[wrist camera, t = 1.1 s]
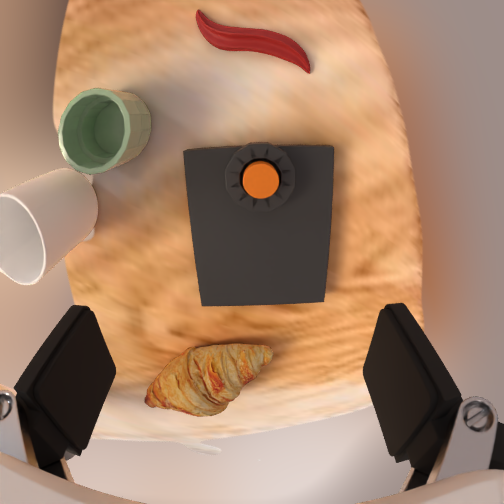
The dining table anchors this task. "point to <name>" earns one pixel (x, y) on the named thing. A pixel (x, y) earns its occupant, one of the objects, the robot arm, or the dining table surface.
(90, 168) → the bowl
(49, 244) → the cup
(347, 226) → the dining table surface
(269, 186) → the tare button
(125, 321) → the dining table surface
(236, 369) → the croissant
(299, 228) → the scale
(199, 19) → the cayenne pepper
